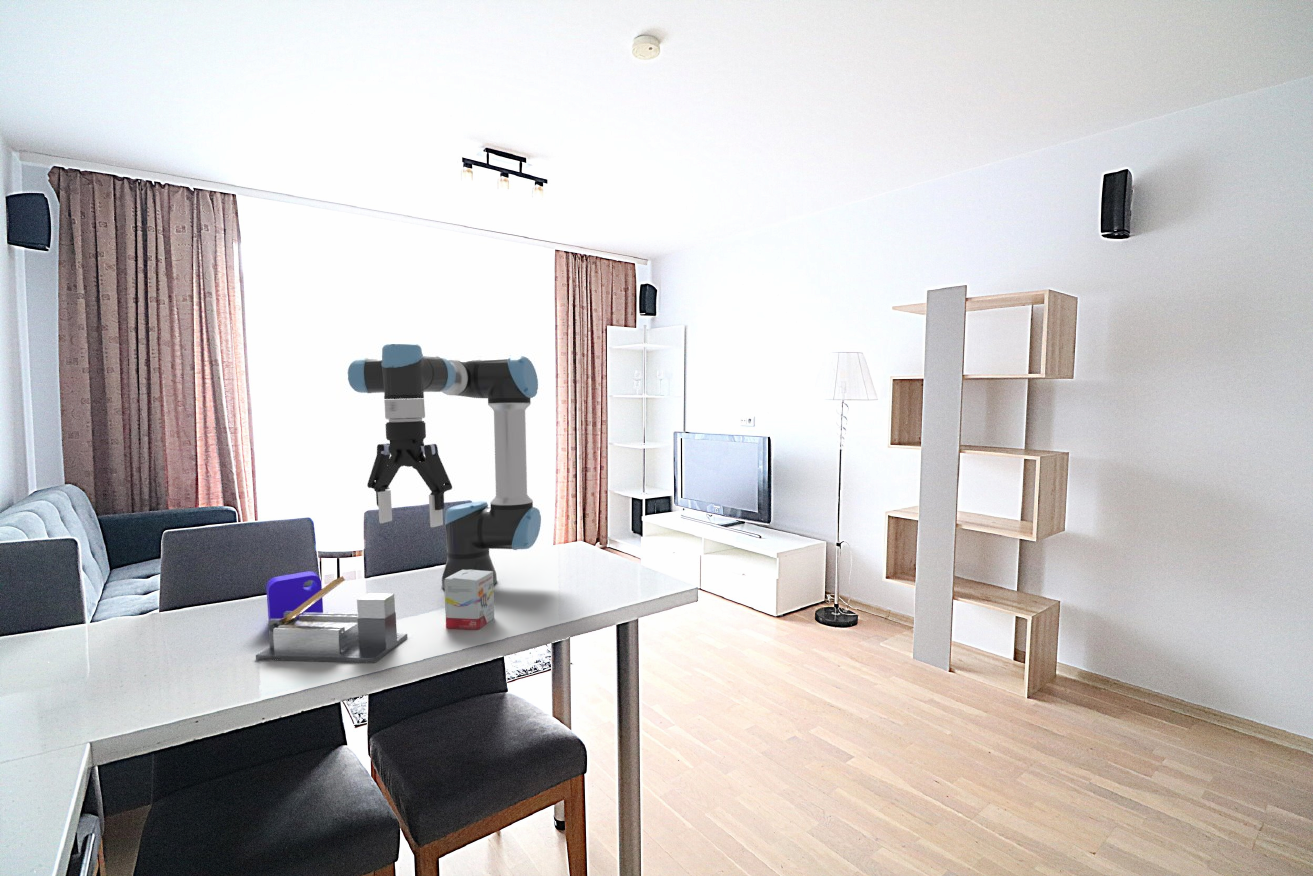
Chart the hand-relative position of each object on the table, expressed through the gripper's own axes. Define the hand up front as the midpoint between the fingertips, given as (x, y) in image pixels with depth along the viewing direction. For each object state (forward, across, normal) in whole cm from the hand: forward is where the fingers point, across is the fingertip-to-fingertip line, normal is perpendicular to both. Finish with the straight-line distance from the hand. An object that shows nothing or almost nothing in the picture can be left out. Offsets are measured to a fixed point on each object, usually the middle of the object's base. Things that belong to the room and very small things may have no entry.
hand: (410, 524), depth 127 cm
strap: (+18, -24, -5) cm, 31 cm away
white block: (+20, -10, -1) cm, 22 cm away
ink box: (+28, -2, +19) cm, 34 cm away
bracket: (+28, -47, +7) cm, 55 cm away
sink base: (+27, -20, -4) cm, 34 cm away
